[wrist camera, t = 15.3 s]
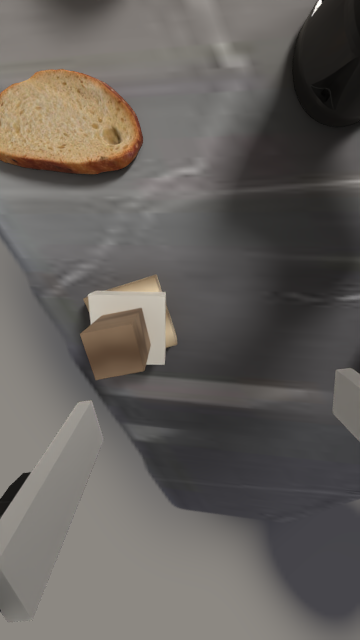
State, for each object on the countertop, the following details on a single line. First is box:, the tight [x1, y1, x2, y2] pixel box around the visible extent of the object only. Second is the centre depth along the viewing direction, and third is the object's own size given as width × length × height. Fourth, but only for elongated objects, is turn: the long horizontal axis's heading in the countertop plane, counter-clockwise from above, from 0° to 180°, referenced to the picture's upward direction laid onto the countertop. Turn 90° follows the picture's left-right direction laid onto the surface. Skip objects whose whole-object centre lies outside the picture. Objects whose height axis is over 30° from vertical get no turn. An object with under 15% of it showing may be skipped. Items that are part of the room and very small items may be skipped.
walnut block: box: [80, 308, 151, 380], centre depth 30 cm, size 6×6×8 cm
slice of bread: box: [0, 69, 143, 174], centre depth 31 cm, size 18×18×4 cm
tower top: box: [88, 291, 166, 365], centre depth 35 cm, size 11×11×4 cm
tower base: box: [83, 275, 177, 348], centre depth 39 cm, size 12×12×4 cm
